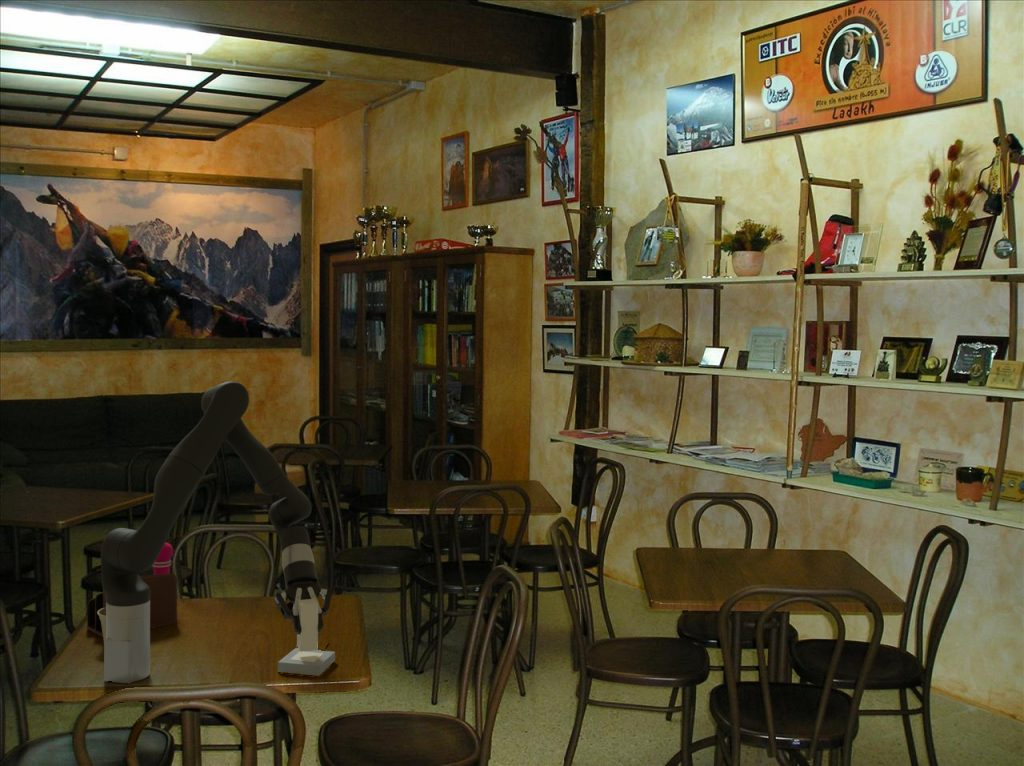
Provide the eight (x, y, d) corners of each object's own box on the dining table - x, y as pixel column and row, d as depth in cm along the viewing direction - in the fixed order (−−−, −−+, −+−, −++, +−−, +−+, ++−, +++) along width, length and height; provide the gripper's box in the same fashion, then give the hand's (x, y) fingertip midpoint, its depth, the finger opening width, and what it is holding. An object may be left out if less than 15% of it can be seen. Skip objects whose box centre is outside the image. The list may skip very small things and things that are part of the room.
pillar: (317, 649, 234) (318, 603, 233) (300, 651, 232) (301, 605, 232) (313, 644, 238) (314, 598, 237) (296, 646, 236) (297, 600, 235)
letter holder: (177, 623, 266) (178, 570, 265) (104, 639, 251) (104, 584, 250) (159, 615, 272) (159, 563, 271) (86, 630, 258) (86, 576, 257)
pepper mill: (167, 613, 273) (167, 540, 272) (142, 611, 274) (142, 538, 273) (180, 605, 280) (180, 534, 279) (155, 604, 282) (156, 533, 280)
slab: (319, 678, 229) (319, 665, 229) (277, 674, 231) (278, 661, 231) (334, 664, 239) (335, 651, 239) (295, 660, 241) (295, 647, 241)
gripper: (271, 561, 238) (280, 627, 227) (331, 556, 243) (342, 620, 233) (267, 577, 243) (276, 642, 233) (325, 572, 249) (336, 636, 238)
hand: (309, 631), depth 233 cm, fingers closed on pillar, 4 cm apart
